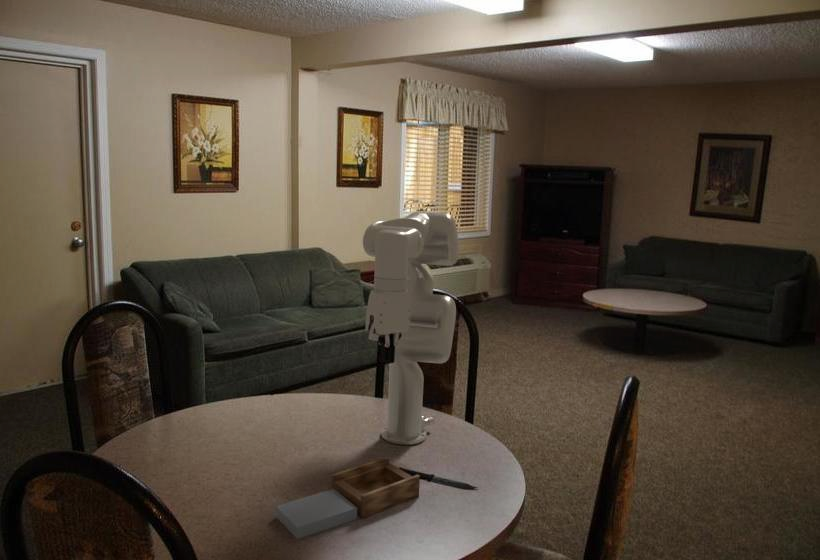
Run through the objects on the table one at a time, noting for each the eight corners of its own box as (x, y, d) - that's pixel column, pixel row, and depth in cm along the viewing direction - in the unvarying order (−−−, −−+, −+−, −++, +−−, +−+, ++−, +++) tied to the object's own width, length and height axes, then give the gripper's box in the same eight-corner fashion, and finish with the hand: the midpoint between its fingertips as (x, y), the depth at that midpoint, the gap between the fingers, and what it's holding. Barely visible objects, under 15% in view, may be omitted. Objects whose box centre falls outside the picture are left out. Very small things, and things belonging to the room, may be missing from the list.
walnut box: (386, 476, 156) (386, 456, 156) (418, 497, 148) (419, 475, 147) (330, 496, 146) (331, 474, 145) (362, 519, 137) (362, 496, 136)
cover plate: (333, 500, 145) (333, 488, 145) (356, 520, 137) (357, 507, 137) (275, 519, 137) (276, 506, 136) (297, 541, 129) (297, 527, 129)
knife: (395, 470, 158) (400, 465, 161) (395, 475, 159) (400, 470, 161) (477, 489, 150) (480, 483, 153) (476, 494, 151) (480, 488, 153)
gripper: (404, 279, 155) (401, 353, 158) (354, 284, 146) (351, 363, 149) (425, 284, 150) (422, 360, 153) (374, 290, 140) (371, 371, 143)
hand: (387, 361), depth 151 cm, fingers closed
